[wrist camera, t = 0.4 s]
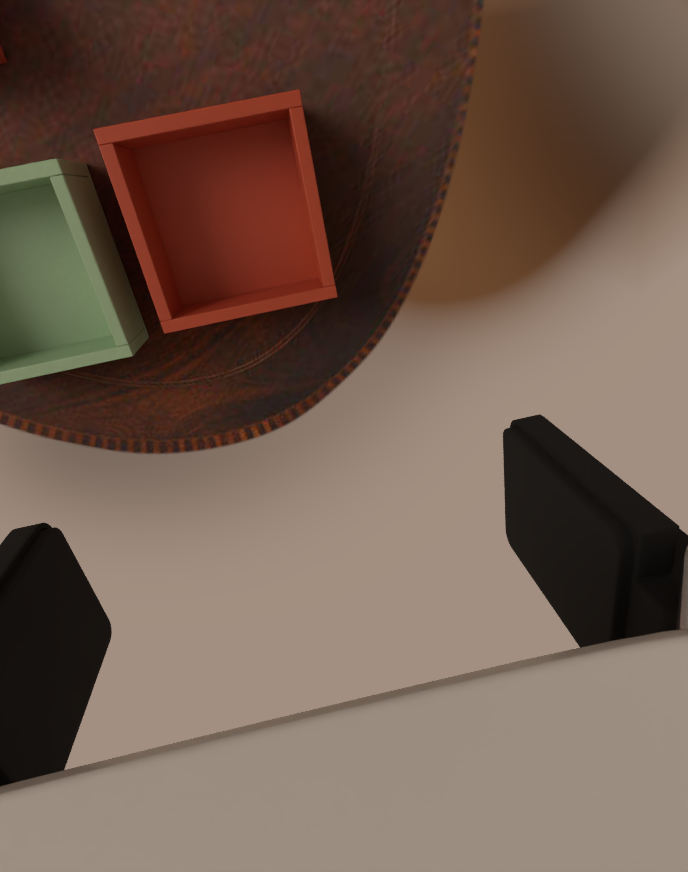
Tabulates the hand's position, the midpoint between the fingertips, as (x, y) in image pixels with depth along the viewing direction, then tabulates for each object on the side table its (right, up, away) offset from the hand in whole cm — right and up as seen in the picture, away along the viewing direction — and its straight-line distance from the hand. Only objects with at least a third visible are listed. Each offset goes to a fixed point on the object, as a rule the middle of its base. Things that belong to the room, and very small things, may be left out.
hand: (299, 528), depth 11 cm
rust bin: (-7, +17, +24) cm, 30 cm away
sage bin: (-20, +13, +24) cm, 34 cm away
